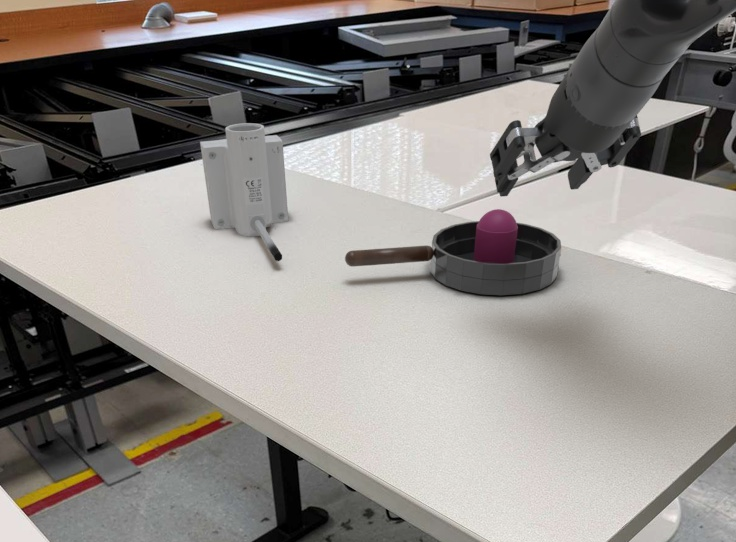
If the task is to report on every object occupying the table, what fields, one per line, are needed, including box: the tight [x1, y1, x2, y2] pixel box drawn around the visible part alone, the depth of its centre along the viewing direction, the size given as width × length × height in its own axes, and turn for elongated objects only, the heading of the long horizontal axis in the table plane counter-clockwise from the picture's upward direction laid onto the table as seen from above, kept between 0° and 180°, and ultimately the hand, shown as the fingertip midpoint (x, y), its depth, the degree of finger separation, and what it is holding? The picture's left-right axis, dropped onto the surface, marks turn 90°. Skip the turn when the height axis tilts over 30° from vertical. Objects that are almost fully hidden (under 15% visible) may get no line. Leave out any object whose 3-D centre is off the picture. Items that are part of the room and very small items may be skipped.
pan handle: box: [344, 245, 434, 268], centre depth 95 cm, size 12×2×2 cm, turn 98°
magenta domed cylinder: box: [474, 208, 518, 263], centre depth 96 cm, size 5×5×8 cm
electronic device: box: [199, 122, 289, 262], centre depth 105 cm, size 12×26×15 cm, turn 17°
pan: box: [429, 220, 562, 296], centre depth 97 cm, size 17×17×4 cm
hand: (536, 185), depth 81 cm, fingers open, 8 cm apart
